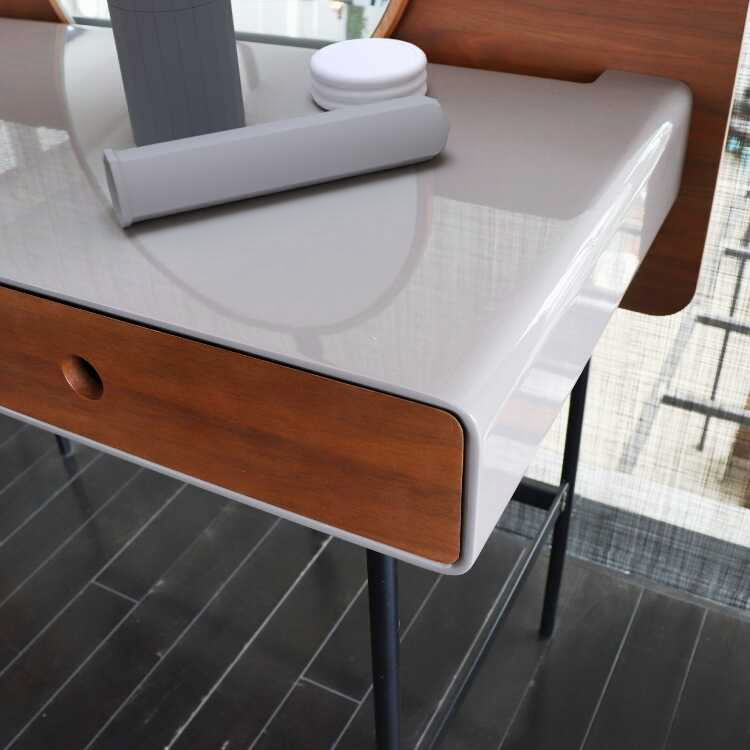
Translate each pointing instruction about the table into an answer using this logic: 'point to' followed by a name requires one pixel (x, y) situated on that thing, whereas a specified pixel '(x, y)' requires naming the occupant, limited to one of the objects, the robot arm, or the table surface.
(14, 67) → the table surface
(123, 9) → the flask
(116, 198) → the tube
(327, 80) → the white thick disc
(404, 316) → the table surface
